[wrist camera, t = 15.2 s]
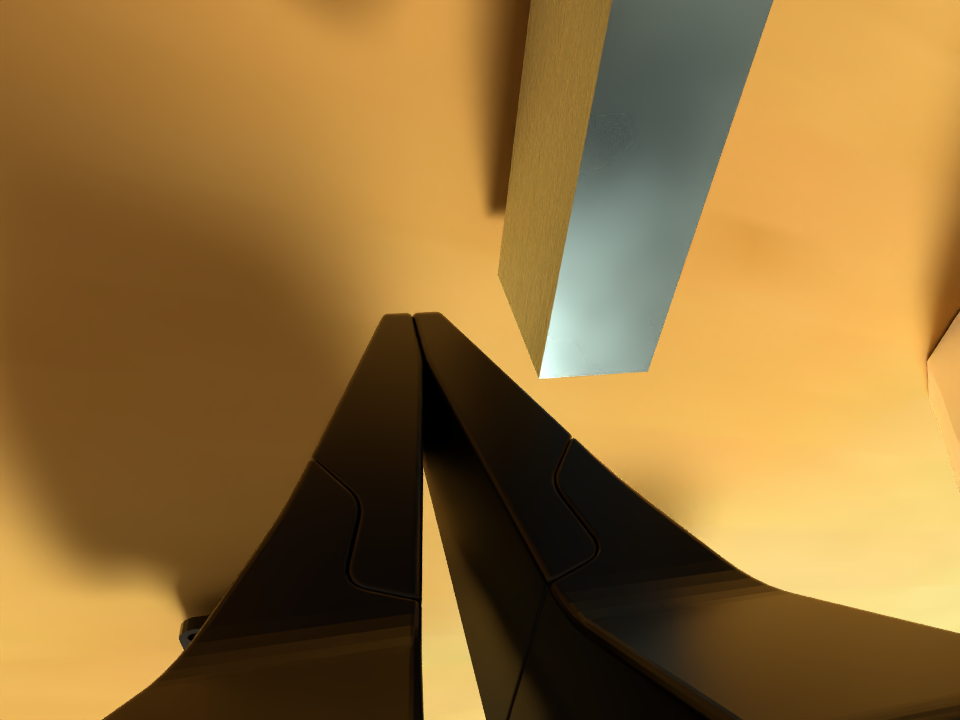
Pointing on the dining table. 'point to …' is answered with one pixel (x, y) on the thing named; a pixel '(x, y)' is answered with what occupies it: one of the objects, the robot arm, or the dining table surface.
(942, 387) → the vase
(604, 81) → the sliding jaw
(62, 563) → the dining table surface
